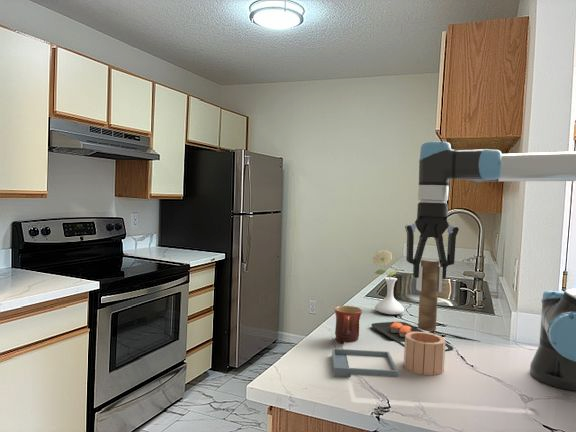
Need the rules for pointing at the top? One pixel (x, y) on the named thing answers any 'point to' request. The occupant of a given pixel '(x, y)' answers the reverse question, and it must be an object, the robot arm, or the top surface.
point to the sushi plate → (405, 331)
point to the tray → (343, 368)
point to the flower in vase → (388, 302)
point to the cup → (424, 353)
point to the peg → (428, 295)
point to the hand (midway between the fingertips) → (428, 290)
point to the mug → (347, 323)
